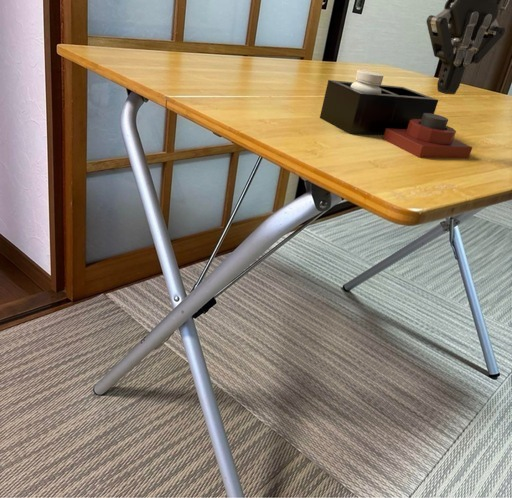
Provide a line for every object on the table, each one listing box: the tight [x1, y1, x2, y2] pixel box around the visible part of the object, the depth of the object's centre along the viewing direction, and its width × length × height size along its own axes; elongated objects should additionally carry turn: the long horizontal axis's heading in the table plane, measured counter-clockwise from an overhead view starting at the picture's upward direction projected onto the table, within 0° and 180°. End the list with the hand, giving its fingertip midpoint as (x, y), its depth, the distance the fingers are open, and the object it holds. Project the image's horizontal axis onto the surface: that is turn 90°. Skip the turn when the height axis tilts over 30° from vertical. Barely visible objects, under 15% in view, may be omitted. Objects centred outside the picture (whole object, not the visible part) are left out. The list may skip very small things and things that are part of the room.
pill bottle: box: [351, 69, 384, 94], centre depth 79 cm, size 5×5×8 cm
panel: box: [382, 119, 473, 159], centre depth 75 cm, size 10×8×4 cm
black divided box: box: [319, 79, 439, 137], centre depth 81 cm, size 16×8×6 cm, turn 117°
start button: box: [420, 113, 449, 130], centre depth 74 cm, size 4×4×2 cm
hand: (445, 92), depth 73 cm, fingers closed
